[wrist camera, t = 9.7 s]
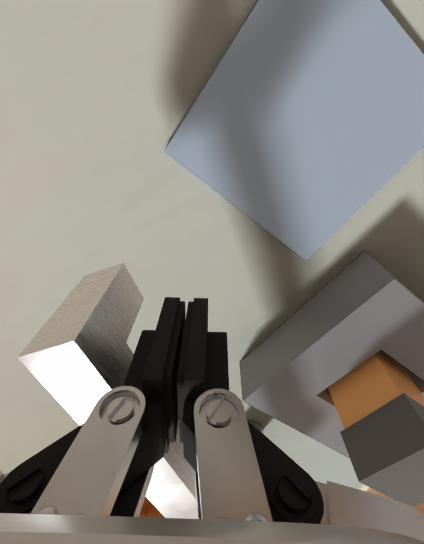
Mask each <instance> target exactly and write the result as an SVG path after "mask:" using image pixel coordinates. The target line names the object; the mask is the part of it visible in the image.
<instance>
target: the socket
mask: <svg viewBox="0 0 424 544" xmlns="http://www.w3.org/2000/svg"><path fill="white" fill-rule="evenodd" d="M380 350H383V351H384V352H385V353H387V354H388V355H389V356H391V357H392V358H394V359H395V360H396V361H398V362H399V363H400V364H401V366H402V367H403V368H404V370H405V371H406V373H407V374H408V375H409V377H410V378H411V379H412V381H413V382H414V384H415V385H416V386H417V388H418V389H419V390H420V392H421V393H422V395H423V396H424V301H423V300H422V299H420V298H419V297H418V296H417V295H416V294H415V293H413V292H412V291H411V290H410V289H409V288H407V287H406V286H405V285H404V284H403V283H402V282H400V281H399V280H398V279H397V278H396V277H395V276H393V275H392V274H391V273H390V272H389V271H387V270H386V269H385V268H384V267H383V266H382V265H380V264H379V263H378V262H377V261H376V260H375V259H373V258H372V257H371V256H370V255H369V254H368V253H366V252H365V251H364V252H363V253H362V254H360V255H359V256H358V257H357V258H356V259H355V260H354V261H353V262H351V263H350V264H349V265H348V266H347V267H346V268H345V269H344V270H343V271H341V272H340V273H339V274H338V275H337V276H336V277H335V278H334V279H332V280H331V281H330V282H329V283H328V284H327V285H326V286H325V287H323V288H322V289H321V290H320V291H319V292H318V293H317V294H316V295H315V296H313V297H312V298H311V299H310V300H309V301H308V302H307V303H306V304H304V305H303V306H302V307H301V308H300V309H299V310H298V311H297V312H296V313H294V314H293V315H292V316H291V317H290V318H289V319H288V320H287V321H285V322H284V323H283V324H282V325H281V326H280V327H279V328H278V329H277V330H275V331H274V332H273V333H272V334H271V335H270V336H269V337H268V338H266V339H265V340H264V341H263V342H262V343H261V344H260V345H259V346H258V347H256V348H255V349H254V350H253V351H252V352H251V353H250V354H249V355H247V356H246V357H245V358H244V359H243V360H242V361H241V362H240V375H241V386H242V398H243V401H244V402H245V403H247V404H249V405H251V406H253V407H255V408H257V409H258V410H260V411H262V412H264V413H266V414H268V415H270V416H272V417H273V418H275V419H277V420H279V421H281V422H283V423H285V424H286V425H288V426H290V427H292V428H294V429H296V430H298V431H299V432H301V433H303V434H305V435H307V436H309V437H311V438H313V439H314V440H316V441H318V442H320V443H322V444H324V445H326V446H327V447H329V448H331V449H333V450H335V451H337V452H339V453H341V454H342V455H344V456H346V457H348V458H350V457H349V454H348V452H347V449H346V446H345V444H344V441H343V439H342V436H341V433H340V432H341V431H343V430H344V427H343V425H342V422H341V420H340V417H339V415H338V412H337V410H336V407H335V405H334V402H333V400H332V397H331V395H330V392H329V390H328V387H329V386H330V385H332V384H333V383H335V382H336V381H337V380H339V379H340V378H342V377H343V376H344V375H346V374H347V373H349V372H350V371H352V370H353V369H354V368H356V367H357V366H359V365H360V364H361V363H363V362H364V361H366V360H367V359H368V358H370V357H371V356H373V355H374V354H376V353H377V352H378V351H380ZM249 422H250V423H251V424H252V425H253V426H254V427H256V428H257V429H258V430H259V431H260V432H261V433H262V434H263V430H262V426H261V425H260V424H259V423H257V422H255V421H249Z"/></svg>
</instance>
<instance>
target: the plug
mask: <svg viewBox="0 0 424 544" xmlns="http://www.w3.org/2000/svg"><path fill="white" fill-rule="evenodd" d="M328 390H329V392H330V395H331V397H332V400H333V402H334V405H335V407H336V410H337V412H338V415H339V417H340V420H341V422H342V425H343V427H344V430H343V431H341V432H340V433H341V436H342V439H343V441H344V444H345V446H346V449H347V452H348V454H349V457H350V459H351V462H352V465H353V467H354V470H355V472H356V475H357V478H358V480H359V482H361V483H363V484H365V485H367V486H369V487H371V488H373V489H375V490H377V491H379V492H381V493H382V494H385V495H386V496H389V497H390V498H392V499H394V500H397V501H400V502H403V503H405V504H407V505H410V506H412V507H414V506H417V505H419V504H421V503H424V396H423V395H422V393H421V392H420V390H419V389H418V388H417V386H416V385H415V384H414V382H413V381H412V379H411V378H410V377H409V375H408V374H407V373H406V371H405V370H404V368H403V367H402V366H401V364H400V363H399V362H398V361H396V360H395V359H394V358H392V357H391V356H389V355H388V354H387V353H385V352H384V351H383V350H380V351H378V352H377V353H376V354H374V355H373V356H371V357H370V358H368V359H367V360H366V361H364V362H363V363H361V364H360V365H359V366H357V367H356V368H354V369H353V370H352V371H350V372H349V373H347V374H346V375H344V376H343V377H342V378H340V379H339V380H337V381H336V382H335V383H333V384H332V385H330V386H329V387H328Z"/></svg>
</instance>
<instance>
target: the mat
mask: <svg viewBox="0 0 424 544" xmlns="http://www.w3.org/2000/svg"><path fill="white" fill-rule="evenodd" d="M423 147H424V54H423V53H422V51H421V50H420V49H419V48H418V46H417V45H416V44H415V43H414V41H413V40H412V39H411V38H410V36H409V35H408V34H407V33H406V31H405V30H404V29H403V28H402V27H401V25H400V24H399V23H398V22H397V20H396V19H395V18H394V17H393V15H392V14H391V13H390V12H389V10H388V9H387V8H386V7H385V5H384V4H383V3H382V2H381V0H258V2H257V4H256V5H255V7H254V8H253V10H252V12H251V13H250V15H249V16H248V18H247V20H246V21H245V23H244V24H243V26H242V28H241V29H240V31H239V32H238V34H237V36H236V37H235V39H234V40H233V42H232V44H231V45H230V47H229V48H228V50H227V52H226V53H225V55H224V56H223V58H222V60H221V61H220V63H219V64H218V66H217V68H216V69H215V71H214V72H213V74H212V76H211V77H210V79H209V80H208V82H207V84H206V85H205V87H204V88H203V90H202V92H201V93H200V95H199V96H198V98H197V100H196V101H195V103H194V104H193V106H192V108H191V109H190V111H189V112H188V114H187V116H186V117H185V119H184V120H183V122H182V124H181V125H180V127H179V128H178V130H177V132H176V133H175V135H174V136H173V138H172V140H171V141H170V143H169V144H168V146H167V148H166V149H165V151H164V152H165V153H167V154H168V155H169V156H171V157H172V158H173V159H175V160H176V161H177V162H178V163H180V164H181V165H182V166H184V167H185V168H186V169H188V170H189V171H190V172H191V173H193V174H194V175H195V176H197V177H198V178H199V179H201V180H202V181H203V182H204V183H206V184H207V185H208V186H210V187H211V188H212V189H213V190H215V191H216V192H217V193H219V194H220V195H221V196H223V197H224V198H225V199H226V200H228V201H229V202H230V203H232V204H233V205H234V206H236V207H237V208H238V209H239V210H241V211H242V212H243V213H245V214H246V215H247V216H249V217H250V218H251V219H252V220H254V221H255V222H256V223H258V224H259V225H260V226H261V227H263V228H264V229H265V230H267V231H268V232H269V233H271V234H272V235H273V236H274V237H276V238H277V239H278V240H280V241H281V242H282V243H284V244H285V245H286V246H287V247H289V248H290V249H291V250H293V251H294V252H295V253H297V254H298V255H299V256H300V257H302V258H303V259H304V260H307V259H308V258H310V257H311V256H312V255H313V254H314V253H315V252H316V251H317V250H318V249H319V248H320V247H321V246H322V245H323V244H324V243H325V242H326V241H327V240H328V239H329V238H330V237H331V236H332V235H333V234H334V233H335V232H336V231H337V230H338V229H339V228H340V227H341V226H342V225H343V224H344V223H346V222H347V221H348V220H349V219H350V218H351V217H352V216H353V215H354V214H355V213H356V212H357V211H358V210H359V209H360V208H361V207H362V206H363V205H364V204H365V203H366V202H367V201H368V200H369V199H370V198H371V197H372V196H373V195H374V194H375V193H376V192H377V191H378V190H379V189H380V188H381V187H383V186H384V185H385V184H386V183H387V182H388V181H389V180H390V179H391V178H392V177H393V176H394V175H395V174H396V173H397V172H398V171H399V170H400V169H401V168H402V167H403V166H404V165H405V164H406V163H407V162H408V161H409V160H410V159H411V158H412V157H413V156H414V155H415V154H416V153H417V152H418V151H420V150H421V149H422V148H423Z"/></svg>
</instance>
